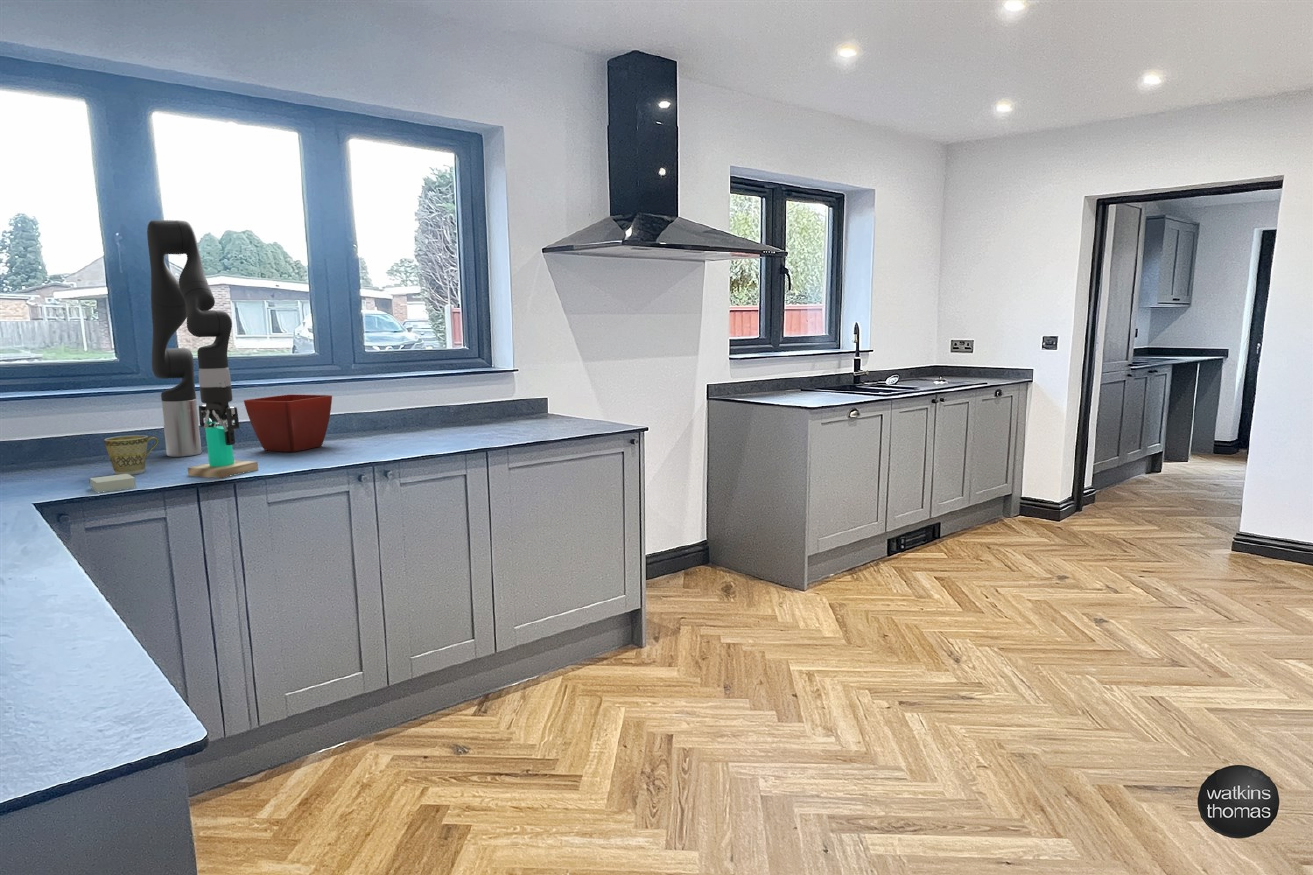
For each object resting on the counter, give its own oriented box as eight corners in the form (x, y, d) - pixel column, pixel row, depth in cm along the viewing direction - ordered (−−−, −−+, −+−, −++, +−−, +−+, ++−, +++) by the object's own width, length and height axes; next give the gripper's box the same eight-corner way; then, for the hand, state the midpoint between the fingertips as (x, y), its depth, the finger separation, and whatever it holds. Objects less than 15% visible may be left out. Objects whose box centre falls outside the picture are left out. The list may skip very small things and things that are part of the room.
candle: (209, 467, 211) (204, 423, 209) (209, 464, 216) (204, 421, 214) (234, 464, 214) (229, 421, 212) (233, 461, 219) (229, 419, 217)
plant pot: (246, 451, 250) (241, 399, 247) (294, 442, 267) (290, 393, 264) (291, 455, 242) (286, 401, 240) (337, 445, 260) (333, 395, 257)
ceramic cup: (118, 478, 209) (114, 441, 208) (101, 474, 214) (97, 438, 213) (170, 470, 220) (166, 435, 218) (152, 466, 225) (148, 432, 224)
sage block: (91, 489, 197) (90, 478, 196) (128, 484, 202) (127, 473, 202) (98, 494, 191) (96, 482, 191) (136, 489, 197) (135, 477, 196)
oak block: (188, 478, 212) (187, 467, 212) (226, 470, 223) (225, 459, 223) (221, 480, 208) (220, 469, 207) (258, 472, 219) (257, 461, 219)
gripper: (186, 385, 212) (192, 443, 214) (217, 386, 205) (223, 447, 207) (213, 382, 218) (219, 440, 221) (244, 384, 211) (249, 443, 214)
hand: (221, 443), depth 214 cm, fingers open, 8 cm apart
